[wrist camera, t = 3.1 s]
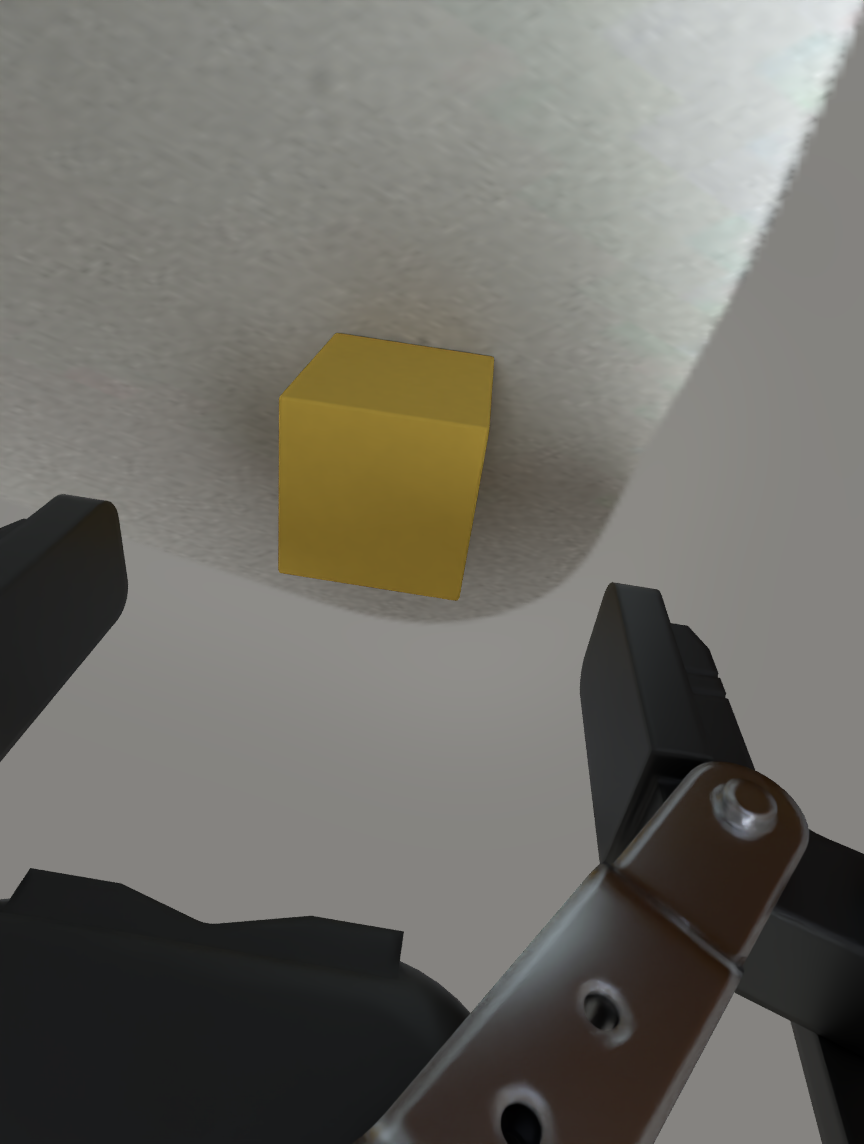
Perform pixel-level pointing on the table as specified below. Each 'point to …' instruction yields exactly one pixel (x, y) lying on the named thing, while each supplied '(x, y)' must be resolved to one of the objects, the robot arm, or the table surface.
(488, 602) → the table surface
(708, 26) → the table surface
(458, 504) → the yellow cube
